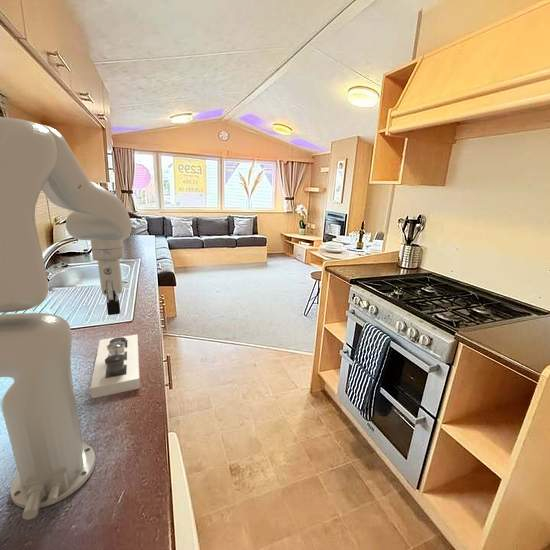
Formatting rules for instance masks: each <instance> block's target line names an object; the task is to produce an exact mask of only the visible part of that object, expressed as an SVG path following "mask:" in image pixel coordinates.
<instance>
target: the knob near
mask: <svg viewBox="0 0 550 550" xmlns="http://www.w3.org/2000/svg"><path fill="white" fill-rule="evenodd" d="M124 360H125V358H124V355H121V354H115V355H111V356H109V357H107V358H106V359H105V364H106V365H107V371H108V375H109V376H114V377H116V376H118V375H119V376H121V374H122V373H124V371H125V369H124Z"/></svg>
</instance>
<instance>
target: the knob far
mask: <svg viewBox="0 0 550 550" xmlns="http://www.w3.org/2000/svg"><path fill="white" fill-rule="evenodd" d="M117 337H118V338H116V337H113V338H114V339H112V340H111V341H110V344H111V343H113V342H124V343H125V347H124V348H126V338H124V337H123V336H117Z"/></svg>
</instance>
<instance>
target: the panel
mask: <svg viewBox="0 0 550 550" xmlns="http://www.w3.org/2000/svg"><path fill="white" fill-rule="evenodd" d="M118 337H119V336H117V337H109V338H103V339H99V342H98V343H99V344H98V348H97V352H96V357H95V358H96V359H95V362H94V368H93V372H92V377H91V382H90V388H89V390H90V396H91V399H95V398H101V397H106V396H111V395H115V394H120V393H124V392H129V391H134V390H138V389H141V379H140V378H141V377H140V351H139V336H138V334H131V335H124V336H122V337H124V338H126V348H124V350H125V360H124V369H125V371H124V373H122V374H121V375H118V376H109V375H108V371H107V365H106V364H105V359H106V358H107V357H109V351H108V350H107V346H108V345H109V344H110V341H111V340H112V339H114V338H118Z"/></svg>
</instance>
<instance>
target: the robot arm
mask: <svg viewBox="0 0 550 550" xmlns="http://www.w3.org/2000/svg"><path fill="white" fill-rule="evenodd" d="M41 192H42V193H43V195H45V196H46V198H47V199H48V200H49V201H50V202H51V203H52V204H53V205H55V206H57V207H58V208H62V209H65V210H68V211H71V212H70V214H68V215H67V216H66V220H65V228H66V229H65V230H66V231H67V233H68V234H69V236H71V237H72V238H74V239H76V240H80V241H90V246H91V253H92V261H96V262H97V265H98V273H99V275H98V276H99V282H100V287H101V288H100V289H101V293H102V295H104V296H106V309H107V310H106V311H107V315H108V316H113V315H120V313H121V307H120V299H119V295H121V294H122V293H123V280H122V279H123V278H122V270H121V263H120V260H122V259H123V249H122V241H124V240H127V239H128V238H129V237H130V236H131V234H132V228H133V225H132V220H131V217H130V214H129V212H128V210H127V208H126V206H125V203H123V201H122V200H121V199H120V198H119V197H118V196H117V195H116V194H114V193H113V192H111V191H109V190H108V189H106V188H104V187H103V186H101V185H99V184H97V183H95V182H93V181H91V180H89V178H88V176H87V175H86V173H85V171H84V169H83V168H82V166H81V164H80V163H79V160H78V159H77V157H76V156H75V154H74V152H73V150H72V149H71V147H70V145H69V143H68V142H67V141H66V139H65V137H64V136H63V135H62V134H61V133H60V132H59V131H58V130H56V129H54V128H53V127H52V126H49V125H44V124H42V123H36V122H33V121H31V120H30V121H29V120H26V119H22V118H21V119H20V118H16V117H15V118H13V117H5V116H0V378H12V380H13V383H12V384H11V385H10V387H9V388H8V389H7V390H6V392H5V394H4V396H3V398H2V401H1V411H2V414H3V415H2V416H3V418H4V419H3V420H4V422H5V426H6V430H7V435H8V438H9V443H10V446H11V450H12V453H13V457H14V458H13V459H14V461H15V466H16V469H17V472H16V475H15V476H14V478H13V479H12V482H11V484H10V488H9V493H10V498H11V500H12V502H13V504H15V505H16V506H17V507H19V508H21V509H23V512H22V515H21V516H22V518H23V519H24V520H32V519H34V518H36V517H37V516H38V514H39V511H40V508H45V507H48V506H51V505H53V504H56V503H58V502H60V501H62V500H65V499H66V498H67V497H69V496H71V495H72V494H73V493H74V492H76V491H78V489H80V488H81V487H82V486H83V485H84V484H85V483H86V482H87V480H88V479H89V478H90V476H91V475H92V473H93V472H94V469H95V466H96V460H97V459H96V454H95V450H94V449H93V447H92V446H90V445H88V444H87V443H85V442H84V440H83V434H82V428H81V424H80V416H79V411H78V405H77V400H76V395H75V393H76V392H75V389H74V383H73V377H72V376H73V375H72V374H73V373H72V358H71V357H72V344H73V343H72V342H73V340H72V339H73V338H72V337H73V333H72V329H71V326H70V324H69V322H68V321H66V319H64V318H63V317H61V316H59V315H55V314H53V313H43V312H28V313H27V312H25V313H24V312H23V311H28V310H30V309H34V308H37V307H38V306H40V305H41V304H42V303H44V301H46V299H47V296H48V292H49V283H48V282H49V281H48V275H47V271H46V266H45V261H44V256H43V252H42V248H41V243H40V239H39V234H38V229H37V223H36V206H37V202H38V199H39V196H40V194H41ZM14 312H15V313H14ZM17 312H23V313H17ZM1 313H3V314H1Z"/></svg>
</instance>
